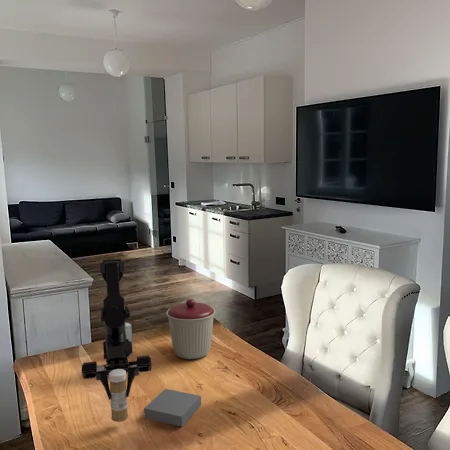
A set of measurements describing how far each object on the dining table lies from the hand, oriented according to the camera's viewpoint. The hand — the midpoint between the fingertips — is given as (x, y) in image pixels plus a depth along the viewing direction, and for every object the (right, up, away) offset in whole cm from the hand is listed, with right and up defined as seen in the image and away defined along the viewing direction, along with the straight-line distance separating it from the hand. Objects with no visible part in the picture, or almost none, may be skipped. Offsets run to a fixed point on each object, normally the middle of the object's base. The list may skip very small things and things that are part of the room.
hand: (118, 398), depth 126 cm
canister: (+16, -2, +49) cm, 52 cm away
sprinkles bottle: (0, -6, +2) cm, 7 cm away
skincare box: (-9, -2, +48) cm, 49 cm away
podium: (+14, -7, +10) cm, 18 cm away
